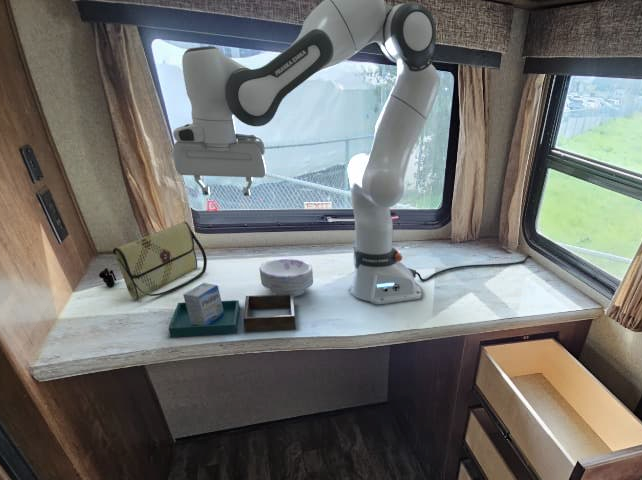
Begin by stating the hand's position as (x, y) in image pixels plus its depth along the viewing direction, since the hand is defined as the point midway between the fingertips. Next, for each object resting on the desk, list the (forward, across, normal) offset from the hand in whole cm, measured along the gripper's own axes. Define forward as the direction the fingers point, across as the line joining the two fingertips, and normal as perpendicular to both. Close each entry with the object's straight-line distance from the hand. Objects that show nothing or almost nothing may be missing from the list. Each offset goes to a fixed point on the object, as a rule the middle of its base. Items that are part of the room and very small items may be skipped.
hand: (227, 195), depth 109 cm
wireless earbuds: (+29, +38, -13) cm, 50 cm away
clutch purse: (+29, +21, -13) cm, 38 cm away
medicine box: (+29, +9, +12) cm, 32 cm away
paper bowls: (+29, -12, -5) cm, 32 cm away
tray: (+29, +9, +12) cm, 33 cm away
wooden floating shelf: (+29, -7, +12) cm, 32 cm away
